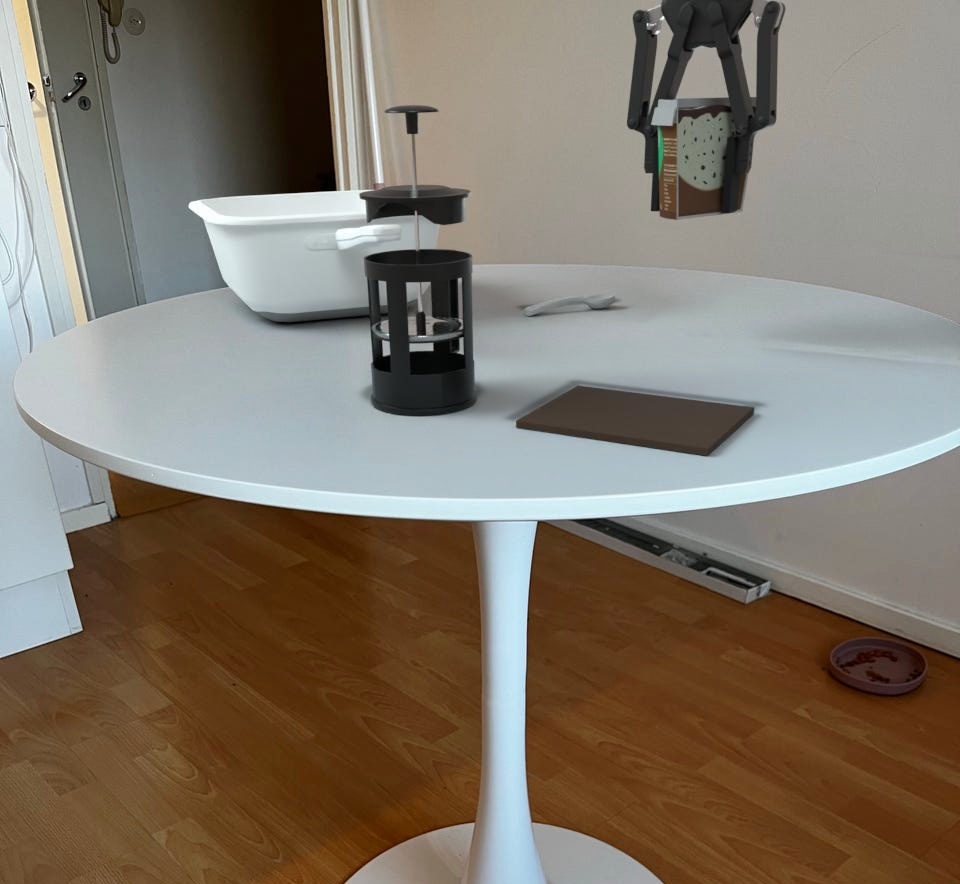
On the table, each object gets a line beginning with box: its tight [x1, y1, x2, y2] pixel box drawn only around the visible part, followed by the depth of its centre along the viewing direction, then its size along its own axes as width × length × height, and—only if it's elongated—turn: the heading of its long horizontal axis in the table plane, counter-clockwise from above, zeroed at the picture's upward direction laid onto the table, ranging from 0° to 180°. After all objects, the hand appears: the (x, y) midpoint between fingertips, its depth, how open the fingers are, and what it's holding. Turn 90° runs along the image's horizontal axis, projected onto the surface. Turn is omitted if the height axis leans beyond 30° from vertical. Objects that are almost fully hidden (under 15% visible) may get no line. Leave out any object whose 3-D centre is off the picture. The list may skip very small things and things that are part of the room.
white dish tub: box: [188, 189, 441, 323], centre depth 117 cm, size 28×44×13 cm, turn 21°
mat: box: [515, 385, 755, 457], centre depth 82 cm, size 16×12×1 cm
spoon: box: [523, 293, 616, 317], centre depth 122 cm, size 3×12×2 cm, turn 112°
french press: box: [359, 104, 478, 416], centre depth 83 cm, size 12×9×23 cm
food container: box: [651, 96, 756, 221], centre depth 97 cm, size 12×6×10 cm, turn 127°
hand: (693, 210), depth 99 cm, fingers closed on food container, 6 cm apart
